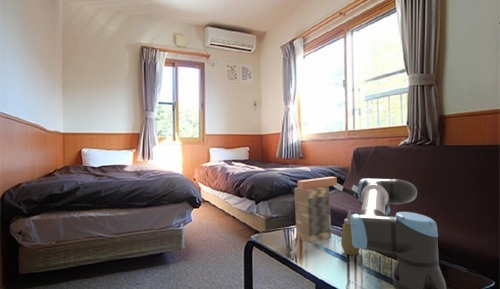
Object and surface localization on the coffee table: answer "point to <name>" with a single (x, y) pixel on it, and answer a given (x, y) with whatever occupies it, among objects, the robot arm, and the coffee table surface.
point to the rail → (317, 183)
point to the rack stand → (312, 214)
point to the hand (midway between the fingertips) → (343, 185)
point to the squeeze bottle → (348, 237)
